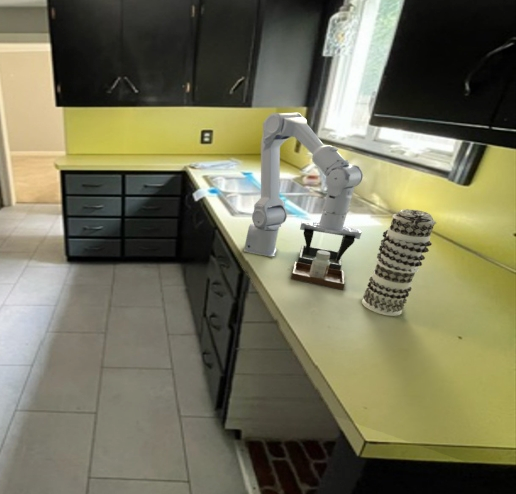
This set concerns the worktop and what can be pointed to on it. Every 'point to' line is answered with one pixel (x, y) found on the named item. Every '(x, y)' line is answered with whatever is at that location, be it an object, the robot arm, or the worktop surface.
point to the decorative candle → (398, 261)
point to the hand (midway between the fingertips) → (322, 256)
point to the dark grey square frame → (313, 253)
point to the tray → (332, 279)
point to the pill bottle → (320, 264)
